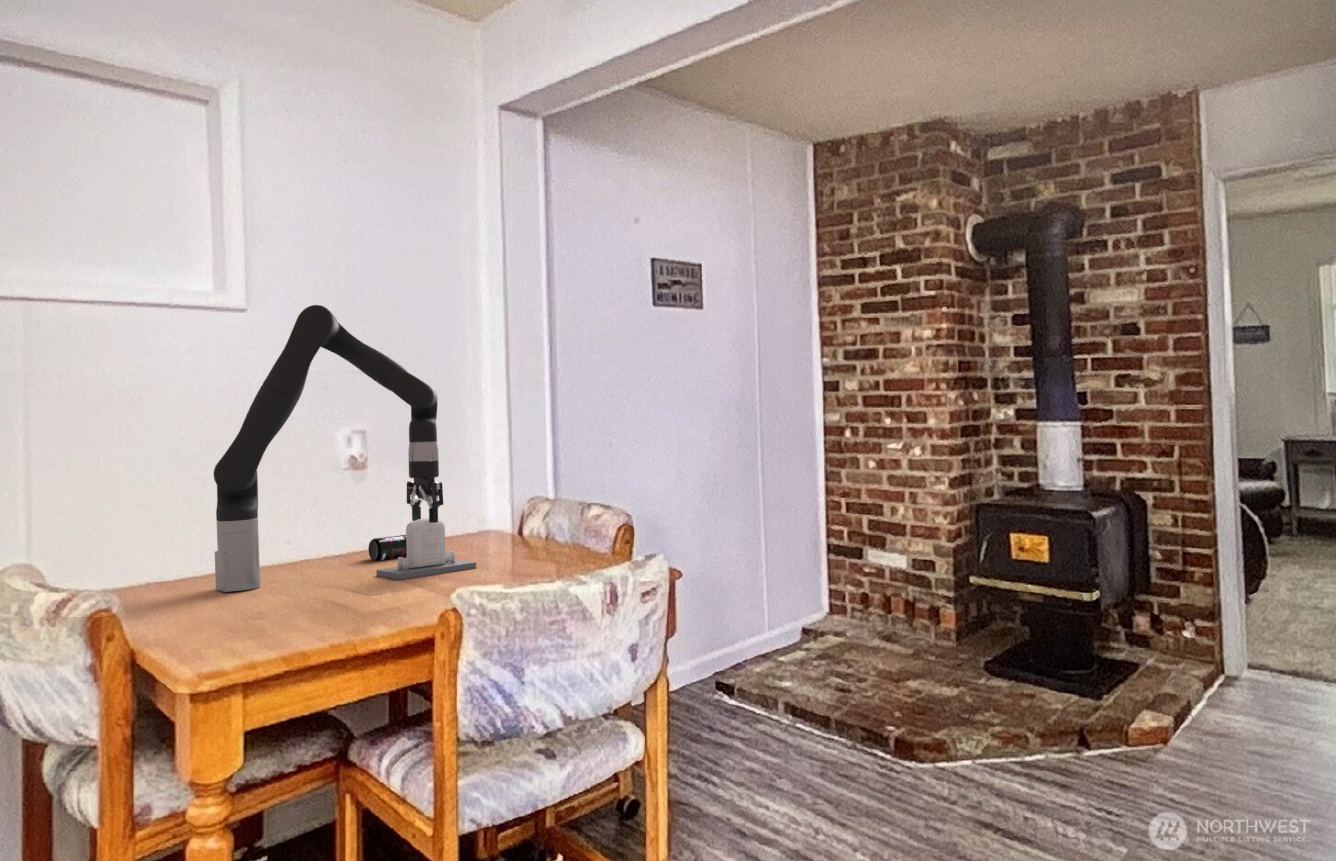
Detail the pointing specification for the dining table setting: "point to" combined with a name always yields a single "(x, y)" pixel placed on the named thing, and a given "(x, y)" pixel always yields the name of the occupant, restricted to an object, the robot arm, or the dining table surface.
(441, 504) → the robot arm
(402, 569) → the pin dock
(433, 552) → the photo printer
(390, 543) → the supplement container
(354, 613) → the dining table surface
